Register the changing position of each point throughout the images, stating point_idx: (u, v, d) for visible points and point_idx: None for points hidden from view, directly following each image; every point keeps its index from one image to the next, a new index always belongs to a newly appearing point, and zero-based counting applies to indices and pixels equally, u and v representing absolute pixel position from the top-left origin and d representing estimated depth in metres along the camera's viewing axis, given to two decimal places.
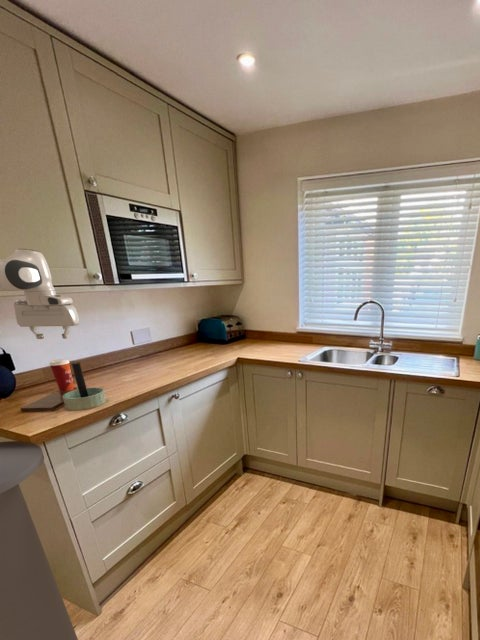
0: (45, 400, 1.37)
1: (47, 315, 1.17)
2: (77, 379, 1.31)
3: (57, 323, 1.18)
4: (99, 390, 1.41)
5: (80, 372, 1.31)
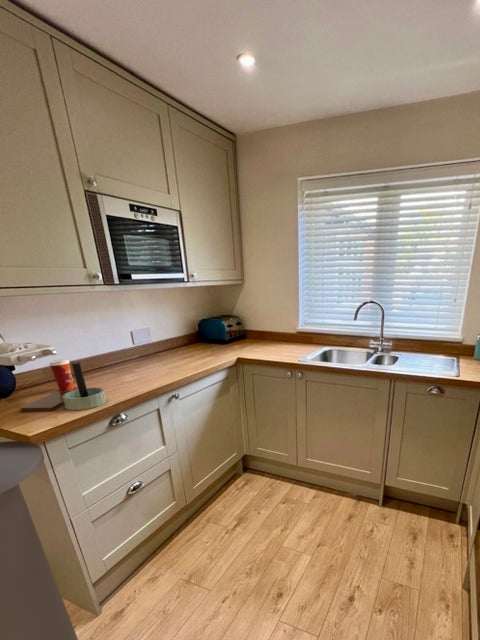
0: (45, 400, 1.37)
1: (28, 350, 1.33)
2: (77, 379, 1.31)
3: (40, 348, 1.35)
4: (99, 390, 1.41)
5: (80, 372, 1.31)
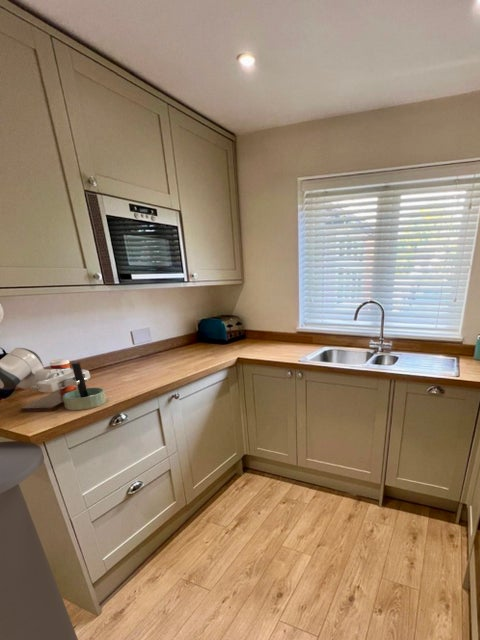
0: (45, 400, 1.37)
1: (65, 375, 1.35)
2: (77, 379, 1.31)
3: None
4: (99, 390, 1.41)
5: (80, 372, 1.31)
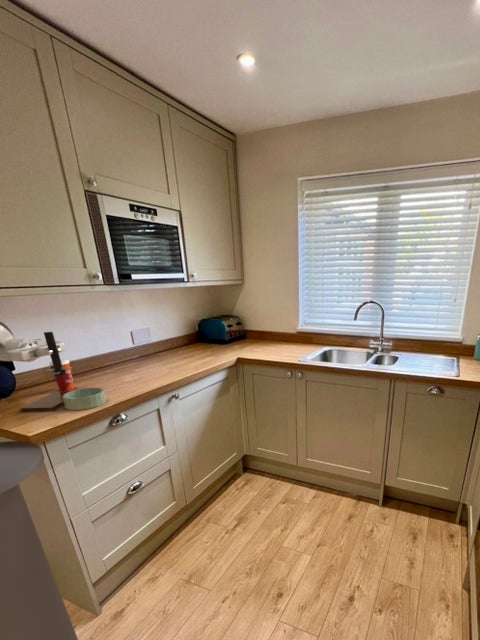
0: (45, 400, 1.37)
1: (38, 345, 1.31)
2: (50, 349, 1.28)
3: None
4: (99, 390, 1.41)
5: (53, 342, 1.28)
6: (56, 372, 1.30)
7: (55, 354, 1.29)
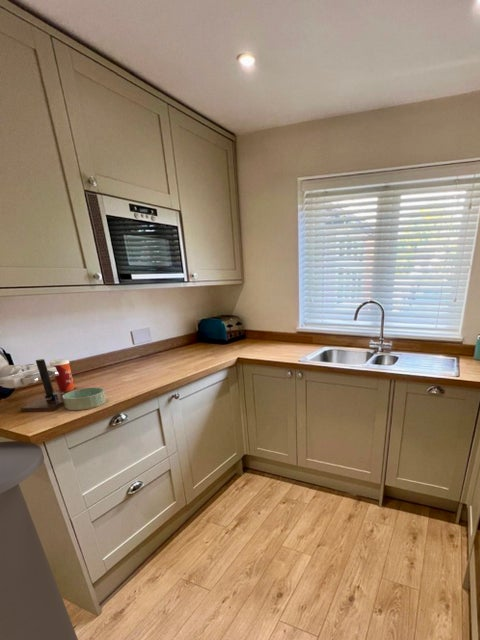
0: (45, 400, 1.37)
1: (31, 371, 1.36)
2: (42, 376, 1.33)
3: None
4: (99, 390, 1.41)
5: (44, 369, 1.32)
6: (48, 398, 1.34)
7: (47, 381, 1.34)
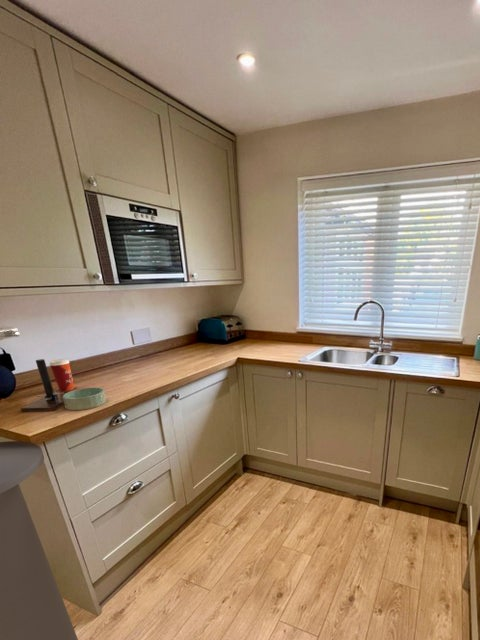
0: (45, 400, 1.37)
1: None
2: (42, 376, 1.33)
3: (3, 329, 1.34)
4: (99, 390, 1.41)
5: (44, 369, 1.32)
6: (48, 398, 1.34)
7: (47, 381, 1.34)
